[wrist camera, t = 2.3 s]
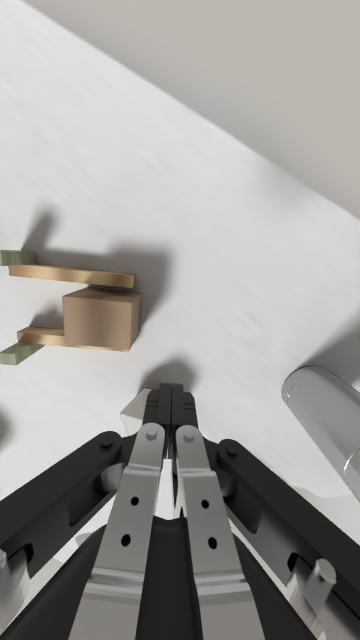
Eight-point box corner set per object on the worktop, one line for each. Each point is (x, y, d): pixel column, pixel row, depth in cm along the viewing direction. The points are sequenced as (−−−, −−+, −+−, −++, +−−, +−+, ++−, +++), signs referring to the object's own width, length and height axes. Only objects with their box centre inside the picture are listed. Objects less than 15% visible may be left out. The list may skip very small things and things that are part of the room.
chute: (135, 263, 30) (126, 265, 24) (131, 354, 34) (122, 373, 28) (20, 250, 29) (-18, 249, 23) (30, 345, 33) (0, 364, 27)
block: (141, 293, 31) (131, 303, 24) (139, 330, 33) (130, 349, 26) (86, 287, 31) (62, 296, 24) (87, 325, 32) (64, 343, 26)
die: (138, 370, 36) (99, 422, 29) (183, 385, 32) (149, 449, 26) (150, 396, 41) (119, 446, 34) (190, 412, 37) (163, 471, 31)
